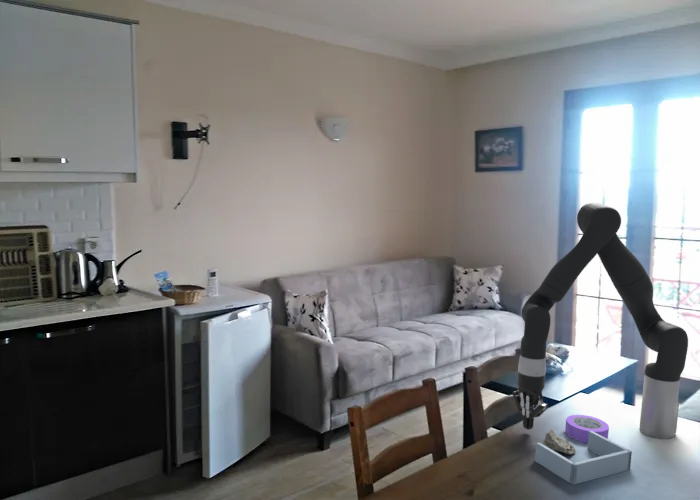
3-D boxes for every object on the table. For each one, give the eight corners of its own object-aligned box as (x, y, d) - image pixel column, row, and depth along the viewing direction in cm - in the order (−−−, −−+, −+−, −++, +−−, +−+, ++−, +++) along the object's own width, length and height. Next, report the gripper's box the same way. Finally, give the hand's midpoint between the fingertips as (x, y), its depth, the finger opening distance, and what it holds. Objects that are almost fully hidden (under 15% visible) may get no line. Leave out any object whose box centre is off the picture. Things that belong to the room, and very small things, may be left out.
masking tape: (612, 434, 173) (613, 422, 173) (601, 448, 164) (602, 435, 163) (572, 423, 180) (573, 411, 180) (559, 435, 171) (560, 423, 171)
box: (590, 447, 163) (591, 430, 163) (630, 469, 152) (631, 451, 151) (534, 460, 155) (536, 442, 154) (572, 484, 143) (574, 465, 142)
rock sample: (581, 449, 154) (559, 420, 158) (557, 465, 155) (535, 436, 159) (582, 450, 163) (561, 423, 167) (559, 466, 164) (539, 438, 168)
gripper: (558, 376, 165) (554, 435, 167) (526, 362, 177) (522, 417, 179) (537, 380, 162) (533, 439, 164) (506, 365, 174) (502, 421, 176)
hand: (527, 428), depth 171 cm, fingers closed
